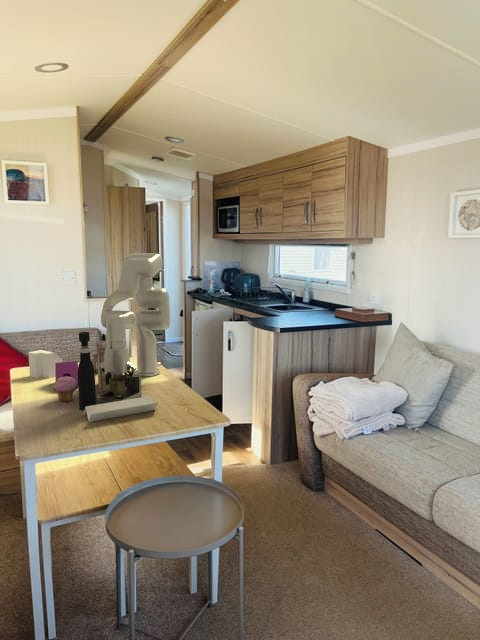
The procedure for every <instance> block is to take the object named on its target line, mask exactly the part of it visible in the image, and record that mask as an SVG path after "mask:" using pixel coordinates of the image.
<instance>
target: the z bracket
mask: <svg viewBox="0 0 480 640" xmlns="http://www.w3.org/2000/svg"><path fill="white" fill-rule="evenodd" d="M159 402H160V401H153V399H152V396H151V395H148V396H141V398H135V399H128V400H122V401H116V402H110V403H104V404H100V403H97V404H96V405H92V406H86V407H85V411H83V415H84V416H87V419H88V422H89V423H90V422H91V423H92V422H96V421H100V420H101V421H102V420H107V419H111V418H117V417H118V418H119V417H123V416H129V415H134V414H140V413H146V412H150V411H155V410H156V409H157V407H158V404H159Z"/></svg>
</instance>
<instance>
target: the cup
mask: <svg viewBox="0 0 480 640" xmlns="http://www.w3.org/2000/svg"><path fill="white" fill-rule="evenodd" d="M109 384H110V390H111V392H112V393H113V394H115V395H114V397H115V398H122V397H123V393H125V391H126V389H127V387H126V383H125V378H124V377H122V376H121V377H120V378H119V377H117V379H116V378H115V377H114V378H113V377H112V380H111V378H110V379H109Z"/></svg>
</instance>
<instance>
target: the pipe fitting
mask: <svg viewBox="0 0 480 640" xmlns="http://www.w3.org/2000/svg"><path fill="white" fill-rule="evenodd" d="M91 354H92V357H93V358H92V359H91V361H92V364H93V367H94V371H95V372H96V373H98V368H97V351H95V352H92V353H91Z"/></svg>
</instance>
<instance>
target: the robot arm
mask: <svg viewBox="0 0 480 640" xmlns="http://www.w3.org/2000/svg"><path fill="white" fill-rule="evenodd" d="M162 268H163V258H162V256H161V254H159V253H155V252H153V253H152V252H150V253H148V252H147V253H145V252H144V253H141V252H138V253H136V252H135V253H129V254H126V255H125V257H124V261H123V262H122V264H121V270H120V274H119V281H118V284H117V288H116V289H115V290H113V291H112V292H111V293H110V294H109V295H108V296H107V298H106V299H105V301H104V302H103V306H102V309H101V313H100V323H101V326H102V327H103V328H105V331H106V332H105V333H106V340H104V341H105V344H107V347H106V348H105V354H104V362H102V363H100V364H99V365H100V367H101V370H102V371H103V373H104V375H105V379H106V385H108V384H109V379H110V378H111V380H112V374H110V372H112V373H120V374H125V376H126V377H127V378H125V383H126V387H130V386H131V385H132V376H141V377H154V376H158V375H160V374H161V370H160V369H158V367H159V366H161V364H162V363H161V362H160V361H159V362H158V360H157V359H158V357H157V355H158V354H157V337H156V335H155V333H154V332H153V330H154V331H158V330H159V331H164V330H168V329H169V328H170V325H171V311H170V310H171V307H170V305H171V304H170V296H169V295H170V294H169V291H168V290H167V289H166V288H163V287H154V285H153V284H154V283H153V277H155V276H156V275H158V274H159V272H161V270H162ZM134 296H135V303H136V305H137V306H138V308H147V309H143V310H141V309H140V310H138V311H136V312H135V313H134V312H133V311H131V310H113V309H114V307H115V306H116V305H118V304H119V303H122V302H123V301H126V300H127V299H130V298H133V297H134ZM152 308H153V309H152ZM154 308H155V309H156V310H154ZM157 309H158V310H157ZM132 328H135V329H134V330H135V336H136V339H135V340H136V360H137V366H136V365H134V364H133V363H131V359H130V358H131V357H130V352H129V348H128V347H127V332H126V330H131V329H132Z"/></svg>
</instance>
